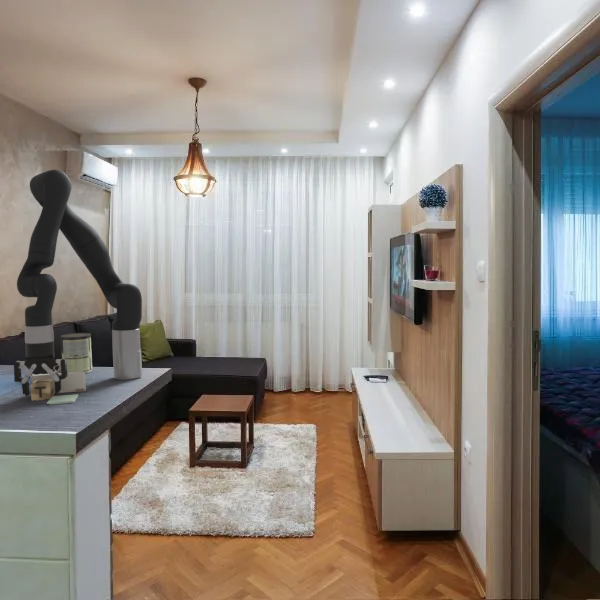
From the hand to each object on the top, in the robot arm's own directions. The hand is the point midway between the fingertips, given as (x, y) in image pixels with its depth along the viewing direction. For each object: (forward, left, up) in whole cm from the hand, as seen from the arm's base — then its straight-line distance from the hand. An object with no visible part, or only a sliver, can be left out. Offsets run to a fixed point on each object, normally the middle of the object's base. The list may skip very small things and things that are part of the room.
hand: (42, 394), depth 141 cm
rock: (+1, -13, -1) cm, 13 cm away
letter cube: (0, 0, -1) cm, 1 cm away
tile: (-7, +5, -1) cm, 8 cm away
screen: (-4, -5, -1) cm, 6 cm away
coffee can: (-4, -35, -1) cm, 35 cm away
